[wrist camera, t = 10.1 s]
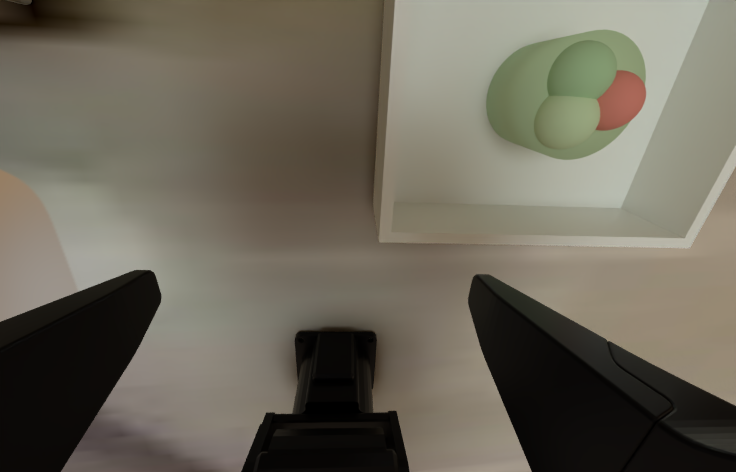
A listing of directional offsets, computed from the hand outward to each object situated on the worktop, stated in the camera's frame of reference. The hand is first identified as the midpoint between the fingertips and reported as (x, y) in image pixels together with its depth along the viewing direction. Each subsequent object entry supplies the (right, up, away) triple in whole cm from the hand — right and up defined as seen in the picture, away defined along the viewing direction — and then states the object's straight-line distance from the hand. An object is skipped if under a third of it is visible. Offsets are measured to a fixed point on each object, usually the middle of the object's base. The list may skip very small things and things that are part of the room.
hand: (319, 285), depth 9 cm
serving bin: (+11, +10, +9) cm, 17 cm away
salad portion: (+11, +9, +9) cm, 17 cm away
